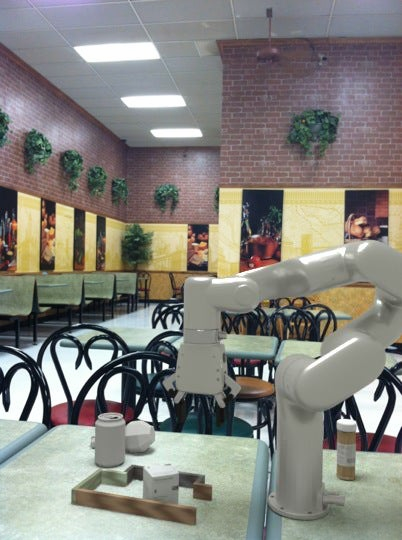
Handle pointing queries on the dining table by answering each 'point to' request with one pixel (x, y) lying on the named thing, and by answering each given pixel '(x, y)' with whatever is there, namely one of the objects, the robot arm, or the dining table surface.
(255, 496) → the dining table surface
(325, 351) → the robot arm
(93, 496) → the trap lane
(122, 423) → the can
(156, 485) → the skincare box
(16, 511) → the dining table surface
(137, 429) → the chicken leg
